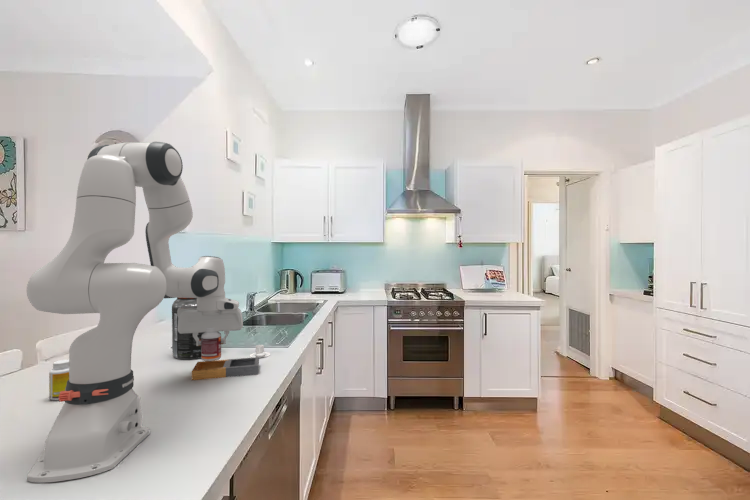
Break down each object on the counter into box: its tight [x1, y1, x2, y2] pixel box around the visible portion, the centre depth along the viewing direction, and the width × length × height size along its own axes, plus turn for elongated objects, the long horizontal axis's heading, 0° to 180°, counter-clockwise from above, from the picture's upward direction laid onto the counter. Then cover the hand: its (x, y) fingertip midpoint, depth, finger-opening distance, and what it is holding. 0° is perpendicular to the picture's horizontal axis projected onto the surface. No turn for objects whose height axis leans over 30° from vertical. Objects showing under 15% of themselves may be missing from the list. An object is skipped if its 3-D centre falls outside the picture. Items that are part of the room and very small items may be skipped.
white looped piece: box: [249, 344, 271, 359], centre depth 149 cm, size 9×8×4 cm
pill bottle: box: [201, 328, 222, 361], centre depth 127 cm, size 6×6×11 cm
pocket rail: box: [191, 356, 260, 381], centre depth 128 cm, size 10×20×3 cm, turn 106°
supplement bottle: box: [48, 359, 69, 401], centre depth 107 cm, size 6×6×10 cm
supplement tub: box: [171, 298, 205, 360], centre depth 150 cm, size 16×16×26 cm
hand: (211, 344), depth 127 cm, fingers closed on pill bottle, 6 cm apart
